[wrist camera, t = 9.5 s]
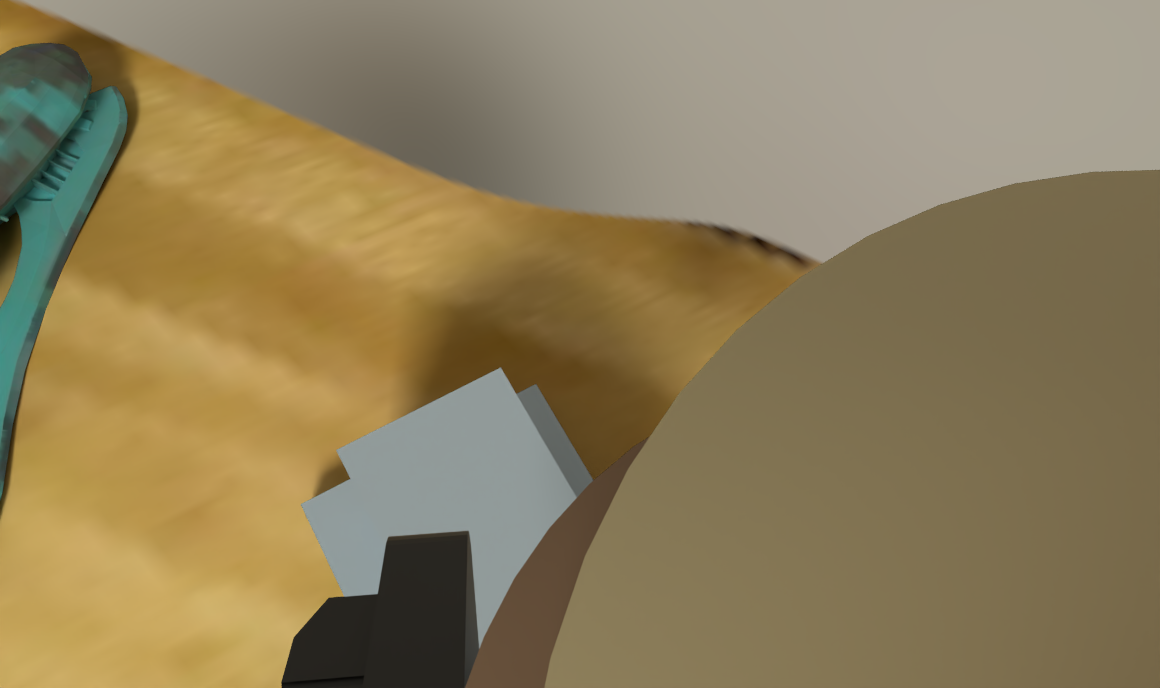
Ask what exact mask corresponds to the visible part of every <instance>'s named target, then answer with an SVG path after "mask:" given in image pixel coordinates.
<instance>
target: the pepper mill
mask: <svg viewBox="0 0 1160 688" xmlns="http://www.w3.org/2000/svg"><path fill="white" fill-rule="evenodd" d="M465 688H1160V170H1142V171H1112V172H1111V171H1110V172H1089V173H1082V174H1076V175H1069V176H1062V177H1056V178H1049V179H1042V180H1036V181H1029V182H1022V183H1016V184H1012V185H1008V186H1005V187H1001V188H997V189H994V190H990V191H987V192H983V193H980V194H976V195H973V196H969V197H966V198H962V199H959V200H955V201H952V202H948V203H945V204H941V205H938V206H936V207H934V208H931V209H929V210H927V211H924V212H922V213H920V214H918V215H915V216H913V217H911V218H908V219H906V220H904V221H901V222H899V223H897V224H894V225H892V226H890V227H888V228H885V229H883V230H881V231H878V232H876V233H874V234H871V235H869V236H867V237H865V238H864V239H862V240H861V241H859V242H857V243H856V244H854V245H852V246H851V247H849V248H848V249H846V250H844V251H843V252H841V253H839V254H838V255H836V256H834V257H833V258H831V259H830V260H828V261H826V262H825V263H823V264H821V265H820V266H818V267H816V268H815V269H813V270H812V271H810V272H808V273H807V274H805V275H803V276H802V277H800V278H799V279H798V280H796V281H795V282H794V283H793V284H792V285H790V286H789V287H788V288H787V289H786V290H784V291H783V292H782V293H781V294H780V295H778V296H777V297H776V298H775V299H774V300H772V301H771V302H770V303H769V304H767V305H766V306H765V307H764V308H763V309H761V310H760V311H759V312H758V313H757V314H755V315H754V316H753V317H752V318H751V319H749V320H748V321H747V322H746V323H744V324H743V325H742V326H741V327H740V328H738V329H737V330H736V331H735V332H734V334H733V335H732V336H731V337H730V338H729V339H728V340H727V341H726V342H725V343H724V345H723V346H722V347H721V348H720V349H719V350H718V351H717V352H716V353H715V354H714V356H713V357H712V358H711V359H710V360H709V361H708V362H707V363H706V364H705V366H704V367H703V368H702V369H701V370H700V371H699V372H698V373H697V374H696V375H695V377H694V378H693V379H692V380H691V381H690V382H689V383H688V384H687V385H686V386H685V388H684V389H683V390H682V391H681V392H680V393H679V394H678V396H677V397H676V399H675V400H674V402H673V403H672V405H671V406H670V408H669V409H668V411H667V412H666V414H665V415H664V417H663V418H662V420H661V421H660V423H659V424H658V425H657V427H656V428H655V430H654V431H653V433H652V434H651V436H650V437H648V438H646V439H645V440H643V441H642V442H640V443H639V444H637V445H635V446H634V447H633V448H631V449H630V450H629V451H628V452H627V453H626V454H624V455H623V456H622V457H621V458H620V459H618V460H617V461H616V462H615V463H614V464H612V465H611V466H610V467H609V468H608V469H606V470H605V471H604V472H603V473H602V474H601V475H599V476H598V477H597V478H596V479H595V480H593V481H592V482H591V483H590V484H589V485H588V486H587V487H586V488H585V489H584V490H583V492H582V493H581V494H580V495H579V496H578V497H577V498H576V499H575V500H574V501H573V503H572V504H571V505H570V506H569V507H568V508H567V509H566V510H565V511H564V512H563V513H562V515H561V516H560V517H559V518H558V519H557V520H556V521H555V522H554V523H553V524H552V526H551V527H550V528H549V529H548V531H547V532H546V534H545V535H544V536H543V538H542V539H541V541H540V542H539V544H538V545H537V546H536V548H535V549H534V551H533V552H532V554H531V555H530V557H529V558H528V559H527V561H526V562H525V564H524V565H523V567H522V568H521V569H520V571H519V572H518V574H517V575H516V577H515V578H514V580H513V582H512V584H511V586H510V588H509V589H508V591H507V593H506V595H505V597H504V599H503V601H502V603H501V605H500V607H499V609H498V611H497V613H496V614H495V616H494V618H493V620H492V622H491V624H490V626H489V628H488V630H487V632H486V634H485V636H484V638H483V641H482V643H481V646H480V649H479V651H478V654H477V657H476V660H475V662H474V665H473V668H472V670H471V673H470V676H469V679H468V681H467V684H466V687H465Z"/></svg>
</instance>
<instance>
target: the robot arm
mask: <svg viewBox="0 0 1160 688" xmlns="http://www.w3.org/2000/svg"><path fill="white" fill-rule="evenodd" d="M478 651H479V639H478V627H477V614H476V601H475V589H474V576H473V564H472V551H471V541H470V534H469V531H456V532H443V533H430V534H416V535H403V536H389V537H388V539H387V542H386V547H385V553H384V559H383V565H382V571H381V577H380V583H379V589H378V594H371V595H359V596H346V597H333V598H328V599H327V601H326V602H325V603H324V604H323V605H322V606H321V607H320V608H319V610H318V611H317V612H316V613H315V614H314V615H313V616H312V618H311V619H310V620H309V621H308V622H307V623H306V624H305V625H304V627H303V628H302V629H301V630H300V631H299V632H298V633H297V635H296V636H295V637H294V639H293V643H292V646H291V650H290V654H289V657H288V661H287V664H286V668H285V672H284V675H283V679H282V682H281V683H282V688H465V687H466V684H467V681H468V679H469V676H470V673H471V670H472V668H473V665H474V662H475V660H476V657H477V654H478Z"/></svg>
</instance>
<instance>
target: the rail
mask: <svg viewBox="0 0 1160 688" xmlns="http://www.w3.org/2000/svg"><path fill="white" fill-rule="evenodd" d="M336 451H337V453H338V455H339V457H340V459H341V461H342V463H343V465H344V467H345V469H346V471H347V473H348V475H349V477H350V479H349V480H347V481H345V482H343V483H341V484H339V485H337V486H336V487H334V488H332V489H330V490H328V491H326V492H324V493H322V494H320V495H318V496H316V497H314V498H312V499H310V500H308V501H306V502H304V503H302V504H301V506H302V508H303V510H304V512H305V514H306V517H307V519H308V521H309V523H310V525H311V527H312V529H313V531H314V533H315V535H316V538H317V540H318V542H319V544H320V546H321V548H322V550H323V552H324V554H325V557H326V559H327V561H328V563H329V565H330V567H331V569H332V571H333V573H334V576H335V578H336V580H337V582H338V584H339V586H340V588H341V590H342V592H343V595H344V597H346V596H359V595H371V594H378V589H379V583H380V577H381V571H382V565H383V559H384V553H385V547H386V542H387V539H388V537H389V536H403V535H416V534H430V533H443V532H456V531H469V534H470V541H471V551H472V564H473V576H474V589H475V601H476V614H477V627H478V639H479V649H480V646H481V643H482V641H483V638H484V636H485V634H486V632H487V630H488V628H489V626H490V624H491V622H492V620H493V618H494V616H495V614H496V613H497V611H498V609H499V607H500V605H501V603H502V601H503V599H504V597H505V595H506V593H507V591H508V589H509V588H510V586H511V584H512V582H513V580H514V578H515V577H516V575H517V574H518V572H519V571H520V569H521V568H522V567H523V565H524V564H525V562H526V561H527V559H528V558H529V557H530V555H531V554H532V552H533V551H534V549H535V548H536V546H537V545H538V544H539V542H540V541H541V539H542V538H543V536H544V535H545V534H546V532H547V531H548V529H549V528H550V527H551V526H552V524H553V523H554V522H555V521H556V520H557V519H558V518H559V517H560V516H561V515H562V513H563V512H564V511H565V510H566V509H567V508H568V507H569V506H570V505H571V504H572V503H573V501H574V500H575V499H576V498H577V497H578V496H579V495H580V494H581V493H582V492H583V490H584V489H585V488H586V487H587V486H588V485H589V484H590V483H591V482H592V481H593V479H592V477H591V476H590V474H589V472H588V471H587V469H586V467H585V465H584V464H583V462H582V460H581V459H580V457H579V455H578V454H577V452H576V450H575V449H574V447H573V445H572V444H571V442H570V440H569V439H568V437H567V435H566V434H565V432H564V430H563V428H562V427H561V425H560V423H559V422H558V420H557V418H556V417H555V415H554V413H553V412H552V410H551V408H550V407H549V405H548V403H547V402H546V400H545V398H544V396H543V395H542V393H541V391H540V390H539V388H538V386H537V385H536V384H535V385H533V386H531V387H529V388H527V389H525V390H523V391H521V392H519V393H517V394H516V393H515V391H514V389H513V388H512V386H511V384H510V382H509V381H508V379H507V377H506V376H505V374H504V372H503V370H502V369H501V368H499V369H497V370H495V371H493V372H491V373H489V374H487V375H485V376H483V377H481V378H479V379H477V380H475V381H473V382H471V383H469V384H467V385H465V386H463V387H461V388H459V389H457V390H455V391H453V392H451V393H449V394H447V395H445V396H443V397H441V398H439V399H437V400H435V401H433V402H431V403H429V404H427V405H425V406H423V407H421V408H419V409H417V410H415V411H413V412H411V413H409V414H407V415H405V416H403V417H401V418H399V419H397V420H395V421H393V422H391V423H389V424H387V425H385V426H383V427H381V428H379V429H377V430H375V431H373V432H371V433H369V434H367V435H365V436H363V437H361V438H359V439H357V440H355V441H353V442H351V443H349V444H347V445H345V446H343V447H341V448H339V449H337V450H336Z"/></svg>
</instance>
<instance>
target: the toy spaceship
mask: <svg viewBox="0 0 1160 688" xmlns="http://www.w3.org/2000/svg"><path fill="white" fill-rule="evenodd" d="M91 81H92V77H91V75H90V74H89V72H88V70H87V69H86V67H85V65H84V64H83V62H82V60H81V58H80V56H79V54H78V53H77V52H76V51H74V50H73V49H71V48H69V47H68V46H65V45H63V44H54V43H40V44H29V45H24V46H20V47H15V48H12V49H11V50H9V51H7V52H5V53H4V54H2V55H0V220H1V221H0V224H1V223H3V222H4V221H5V222H7V221H9V219H8V218H9V217H10V216H12V215H13V214H15V213H16V212H18V214H19V218H20V224H21V230H22V248H21V252H20V256H19V261H18V265H17V269H16V273H15V277H14V280H13V283H12V285H11V287H10V289H9V292H8V294H7V296H6V298H5V300H4V302H3V304H2V306H1V307H0V499H1V495H2V491H3V485H4V478H5V472H6V465H7V459H8V452H9V446H10V440H11V433H12V427H13V421H14V417H15V412H16V408H17V403H18V399H19V395H20V390H21V386H22V381H23V377H24V373H25V369H26V366H27V363H28V360H29V357H30V354H31V351H32V348H33V345H34V342H35V339H36V337H37V334H38V331H39V328H40V325H41V322H42V319H43V316H44V313H45V310H46V308H47V305H48V303H49V300H50V298H51V295H52V293H53V291H54V288H55V286H56V283H57V281H58V278H59V276H60V274H61V271H62V269H63V266H64V264H65V262H66V260H67V257H68V255H69V253H70V250H71V248H72V246H73V244H74V241H75V239H76V237H77V235H78V233H79V231H80V229H81V227H82V225H83V222H84V220H85V218H86V216H87V214H88V212H89V210H90V208H91V206H92V204H93V202H94V200H95V198H96V196H97V193H98V191H99V189H100V187H101V185H102V183H103V181H104V179H105V177H106V175H107V173H108V171H109V169H110V167H111V165H112V163H113V161H114V159H115V157H116V155H117V153H118V151H119V149H120V146H121V144H122V141H123V138H124V135H125V132H126V128H127V117H128V115H127V110H126V106H125V102H124V98H123V96H122V95H121V93H120V92H119V90H118V89H117V87H116V86H109V87H107V88H104V89H101V90H99V91H96V92H94V93H91V94H90V91H91Z"/></svg>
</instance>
